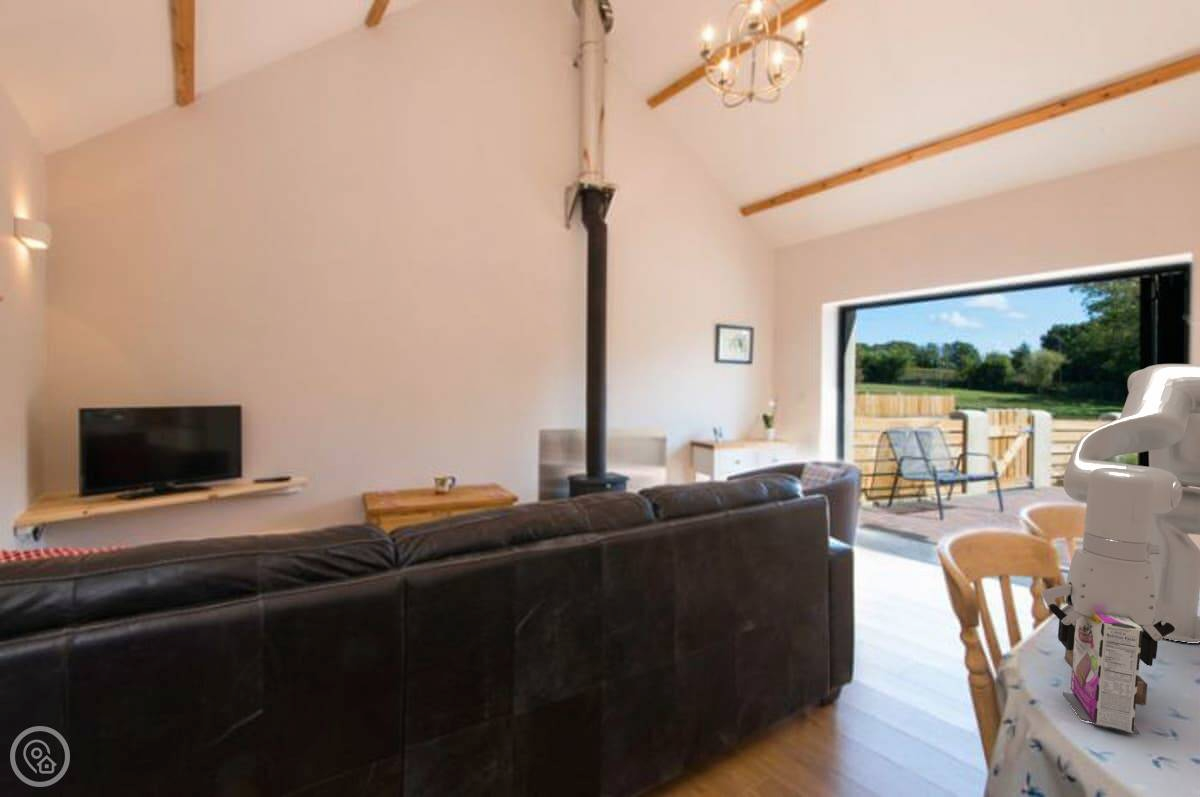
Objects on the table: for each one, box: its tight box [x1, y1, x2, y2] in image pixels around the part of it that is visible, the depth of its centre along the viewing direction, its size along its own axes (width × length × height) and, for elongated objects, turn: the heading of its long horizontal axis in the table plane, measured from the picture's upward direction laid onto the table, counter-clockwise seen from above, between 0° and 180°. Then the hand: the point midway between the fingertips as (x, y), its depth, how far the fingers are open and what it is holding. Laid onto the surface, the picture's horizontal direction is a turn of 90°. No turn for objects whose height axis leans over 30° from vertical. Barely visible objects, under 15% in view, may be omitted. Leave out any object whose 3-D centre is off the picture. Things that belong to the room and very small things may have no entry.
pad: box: [1062, 691, 1141, 736], centre depth 90 cm, size 7×8×1 cm
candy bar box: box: [1070, 613, 1143, 734], centre depth 89 cm, size 11×5×16 cm, turn 156°
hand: (1104, 653), depth 89 cm, fingers open, 9 cm apart
